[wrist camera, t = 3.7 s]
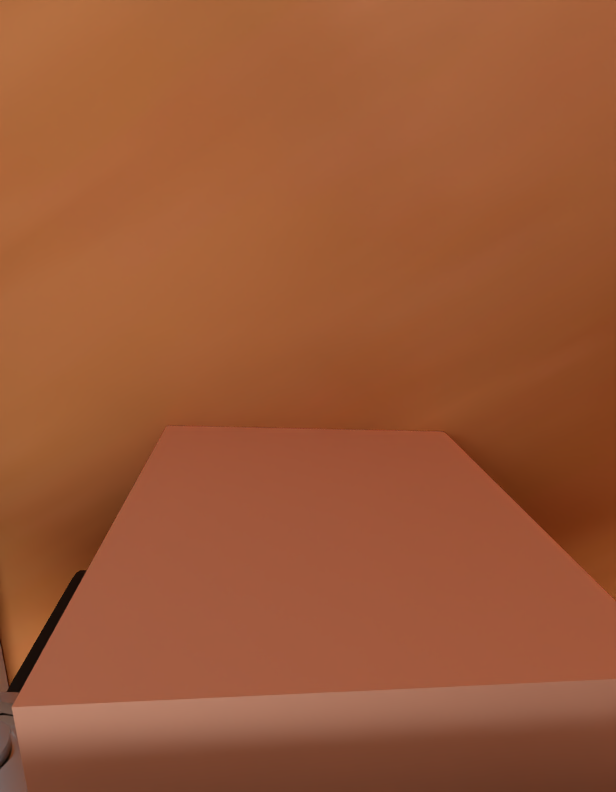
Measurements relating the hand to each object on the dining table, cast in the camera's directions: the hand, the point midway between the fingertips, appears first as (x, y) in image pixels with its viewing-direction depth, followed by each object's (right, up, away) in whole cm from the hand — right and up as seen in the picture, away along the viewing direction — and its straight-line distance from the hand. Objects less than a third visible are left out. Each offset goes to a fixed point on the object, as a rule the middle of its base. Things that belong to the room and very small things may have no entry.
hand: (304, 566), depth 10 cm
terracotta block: (0, 0, +1) cm, 1 cm away
